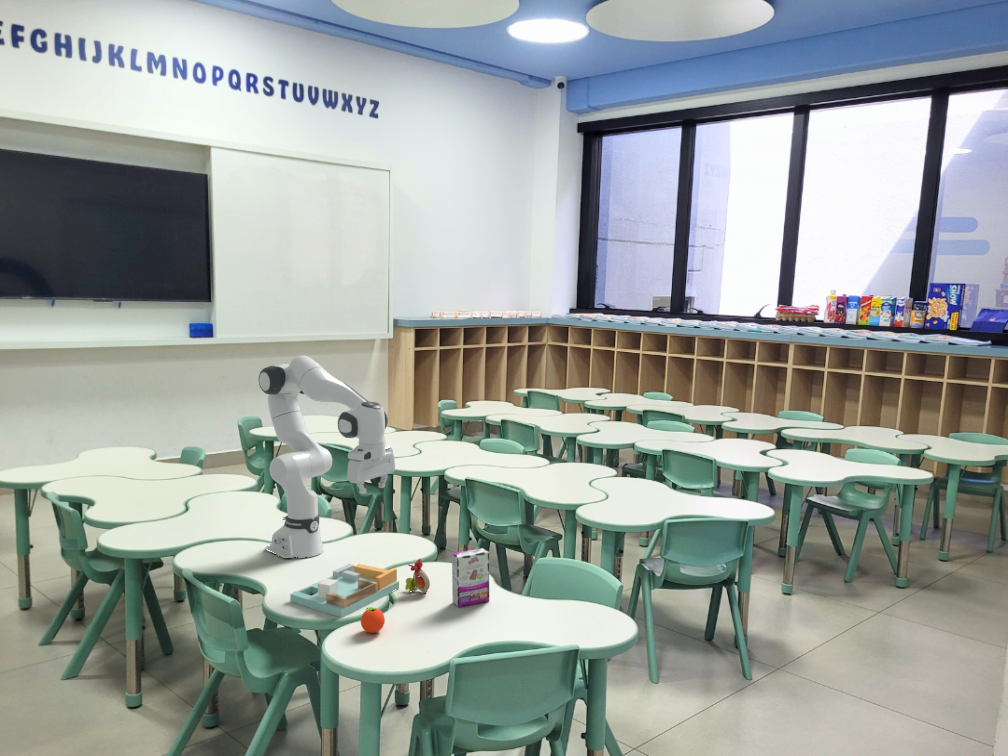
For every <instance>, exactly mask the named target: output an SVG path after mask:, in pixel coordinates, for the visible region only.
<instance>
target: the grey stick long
mask: <svg viewBox="0 0 1008 756" xmlns="http://www.w3.org/2000/svg"><path fill="white" fill-rule="evenodd" d="M359 578H360V574H359V573H356V572H352V571H348V570H346V571H344V572H342V579H346V580H350V581H353V582H357V581H358V579H359Z"/></svg>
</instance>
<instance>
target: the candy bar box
mask: <svg viewBox="0 0 1008 756" xmlns="http://www.w3.org/2000/svg"><path fill="white" fill-rule="evenodd" d="M451 574H452V577H451V578H452V579H451V582H452V584H451V585H452V587H451V588H452V591H451V592H452V603H453V604H454V605H455V606H456V607H458V608H463V607H464V608H465V607H468V606H474V605H477V604H482V603H487V602H490V551H488V550H486V549H485V548H484V547H481V548H475V549H469V550H464V551H459V552H452V553H451Z"/></svg>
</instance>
